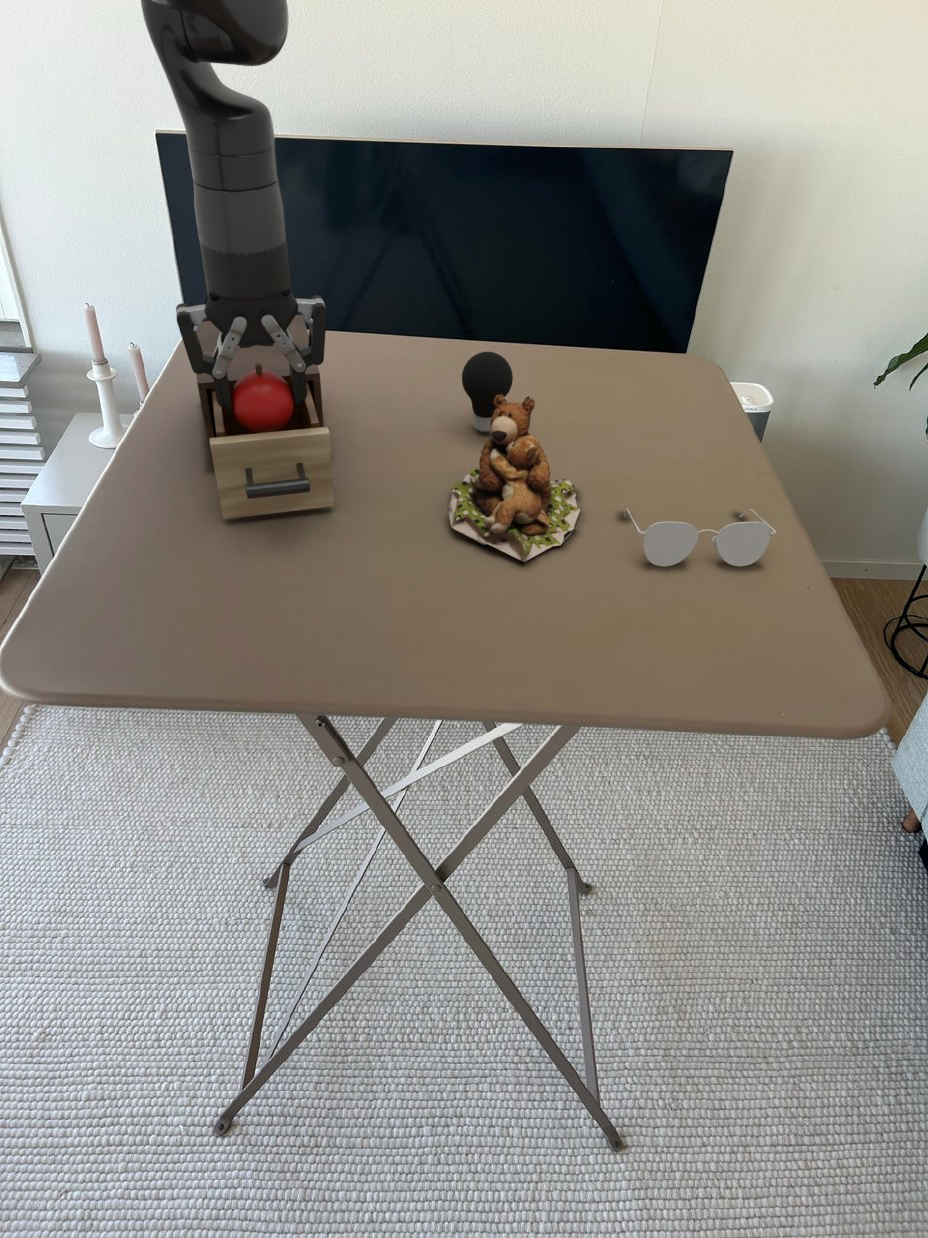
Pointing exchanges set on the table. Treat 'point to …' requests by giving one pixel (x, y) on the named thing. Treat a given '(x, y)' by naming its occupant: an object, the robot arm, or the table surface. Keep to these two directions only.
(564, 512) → the bear figurine
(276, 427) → the apple
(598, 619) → the table surface
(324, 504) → the drawer
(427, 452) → the table surface
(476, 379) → the light bulb
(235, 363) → the cabinet
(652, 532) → the sunglasses
